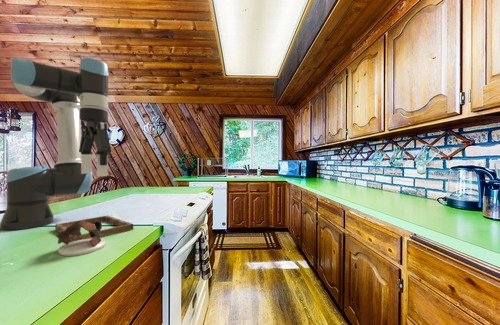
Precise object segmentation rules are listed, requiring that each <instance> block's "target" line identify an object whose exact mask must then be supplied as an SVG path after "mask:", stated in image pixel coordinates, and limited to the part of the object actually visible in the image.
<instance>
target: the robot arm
mask: <svg viewBox="0 0 500 325" xmlns="http://www.w3.org/2000/svg"><path fill="white" fill-rule="evenodd" d="M10 61H11V63H10V78H11V80H10V81H11V82H12V84H13V86H14V88H15V89H16V91H18V92H19V93H20V94H22V95H23V96H25V97H28V98H31V99H34V100H37V101H41V102H46V103H51V107H52V109H54V110H55V111H56V126H57V127H56V128H57V147H58V148H57V155H58V157H57V158H58V161H57V162H56V163H55V164H54V165H53V168H49V166H48V165H35V166H28V167H27V166H26V167H17V168H12V169H10V170H9V171H8V172H7V175H6V181H5V183H6V190H7V191H6V208H5V211H4V213H3V216H2V218H1V220H0V230H3V231H16V230H18V231H19V230H26V229H27V230H28V229H32V228H33V229H34V228H37V227H42V226H46V225H49V224H52V223H53V222H55V221H54V219H55V218H54V217H55V216H54V214H53V212H52V210H51V208H50V205H49V197H59V196H60V197H61V196H71V195H81V194H82V195H83V194H86V193H87V192H89V191H90V189H91V186H92V183H93V170H92V163H93V162H92V159H93V158H92V157H93V156H92V155H93V152H92V149H93V147H94V144H95V148H96V152H95V155H96V177H108V168H109V167H108V166H109V165H108V163H109V161H108V155H110V154H109V153H112V149H111V143H110V139H109V132H108V121H109V119H108V118H109V112H108V111H107V110H109V76H110V74H109V67H108V64H106V63H105V62H104V61H102V60H100V59H97V58H91V57H83V58H81V59H80V62H79V67H78V69H79V71H75V70H71V69H66V68H61V67H58V66H54V65H53V66H52V65H49V64H44V63H41V62H37V61H32V60H30V59H23V58H19V57H13V58H12V59H11V60H10ZM82 122H86V125H85V124H83V125H82Z"/></svg>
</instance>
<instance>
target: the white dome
mask: <svg viewBox="0 0 500 325" xmlns="http://www.w3.org/2000/svg"><path fill="white" fill-rule="evenodd" d="M91 239H92V238H90V239H82V240H78V241H73V240H72V241H70V242H69V243H68V245H66V244H65V243H64V244H62V245H61V246H59V248H58V255H61V256H63V257H65V256H66V257H75V256H81V255H86V254H91V253H94V252H96V251H99V250H102V249H103V248H104V247H106V245H107V243H106V239H105V238H102V237H100V239H101V241H100V242H99V243H98V244H97V245H96V246H94V247H92V244H91V243H90V242H89V241H90V240H91Z"/></svg>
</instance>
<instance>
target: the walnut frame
mask: <svg viewBox="0 0 500 325" xmlns="http://www.w3.org/2000/svg"><path fill="white" fill-rule="evenodd" d="M83 219H84V220H85V222H91V221H92V220H99V221H100V222H101V221H103V222H106V221H107V223H109V222H110V223H109V224H112V223H113V225H115V227H109V228H104V229H101V230H100V232H99V236H100V238H102V237H108V236H111V235H117V234H120V233H125V232H129V231H133V230H134V223H132V222H129V221H125V220H122V219H119V218H116V217H113V216H109V215H101V216H95V217H91V218H86V219H85V218H83ZM80 220H81V219H80ZM80 220H75V221H73V220H72V221H68V222H62V223H58V224H57V223H56V224H55V227H54V228H55V231H57V232H58V233H60V232H62V231H63V232H64V231H65V230H66V228H68V227H70V226H71V225H73V224H75V223H76V222H78V221H80ZM101 223H102V222H101ZM69 238H70V239H71V241H72V242H73V241H78V240H82V239H90V238H93V237H91V236H90V234H89V232H87V233H83V234H82V233H81V235H78V236H77V235H69Z"/></svg>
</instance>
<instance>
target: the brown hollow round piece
mask: <svg viewBox="0 0 500 325" xmlns="http://www.w3.org/2000/svg"><path fill="white" fill-rule="evenodd" d="M84 219H85V218H83V219H80V221H78V220H77V221H78V222H76V223H75V224H73V225H71V226H70V227H68V228H66V230H65V231H64V232H63V231H62V232H58V234H57V235H56V237H57V239H58V240H57V243H58V244H62V243H63V244H64V245H65V244H66V245H68V243H70V242H72V240H71V239H70V238H69V235H77V236H78V235H82V232H81V229H84V230H85V231H87V232H88V233H89V234H90V236H91V237H93V238H92V239H91V240H90V241H89V242H90V243H91V244H92V247H94V246H96V245H97V244H98V243H99V242H100V241H101V239H102V238H101V237H100V236H99V232H100V230H102V227H103V225H102V223H103V222H100V221H99V220H92V221H91V222H85V220H84ZM100 238H101V239H100Z"/></svg>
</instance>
